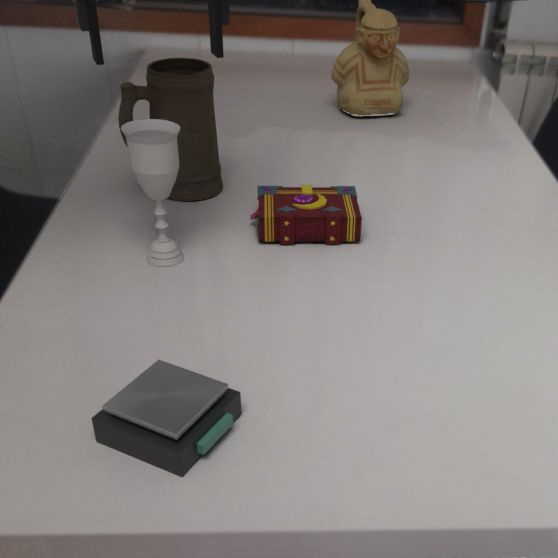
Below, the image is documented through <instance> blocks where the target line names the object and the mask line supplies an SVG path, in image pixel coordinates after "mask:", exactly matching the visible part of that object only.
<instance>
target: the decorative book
mask: <svg viewBox="0 0 558 558" xmlns="http://www.w3.org/2000/svg"><path fill="white" fill-rule="evenodd" d="M256 190H257V191H256V192H257V201H258V206H257V209H256V210H255V211H254V212H253V213H252V214H250V221H252V220H253V219H254V218H255V219H254V220H255V221H254V228H256V227H257V226H258V242H259V243H274V242H275V243H279V244H280V245H295V243H297V242H298V243H300V242H301V243H303V242H304V243H307V242H310V243H312V242H313V243H314V242H316V243H317V242H319V243H320V242H324V243H325V245H341V242H361V233H362V222H363V221H362V219H363V216H362V213H361V210H360V209H361V208H360V205H359V201H358V193H357V190H356V186H355V185H329V186H327V187H325V186H324V187H321V186H320V187H319V186H317V187H316V186H314V187H313V185H312V184H301V185H300V186H283V185H257V189H256Z"/></svg>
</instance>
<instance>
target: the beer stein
mask: <svg viewBox="0 0 558 558" xmlns="http://www.w3.org/2000/svg"><path fill="white" fill-rule="evenodd" d="M145 81H146V85H137V84H134V83H133V82H130V81H126V82H122V83H121V84H120V85H119V87H120V97H121V99H120V104H119V108H118V128H119V131H120V136H121V138H122V140H123V143H124V145H125V146H126V148H127V149H128V147H127V140H126V136H125V135H124V133H123V132H122V130H121V126H122V125H124V124H125V123H128V122H131V121H134V107H135V105H136V104H137V102H138V101H143V100H144V101H147V102H148V103H149V104H148V105H149V109H148V110H149V111H148V112H149V119H160V120H167V121H171V122H174V123H176V124H178V125H179V126H180V131H179V133H178V136H177V143H178V154H179V170H178V174H177V178H176V181H175V184H174V186H173V188H172V191H171V193H170V195H169V197H168V198H167V199H169V200H173V201H178V202H195V201H196V200H199V201H203V200H202V199H204V200H207V199H206V198H208V199H210V198H209V197H211V198H213V197H215V196H214V195H216V194H217V195H218V193H219V192H220V191H221V192H222V190H223V189H222V187H223V188H224V182H223V179H222V175H221V172H222V165H221V164H220V154H219V142H218V132H217V122H216V111H215V100H214V99H215V98H214V88H215V74H214V72H213V67H212V64H211V63H210V62H208V61H206V60H203V59H198V58H192V57H191V58H190V57H169V58H163V59H157V60H154V61H152V62H149V64H147V66H146V75H145ZM221 192H220V193H221ZM220 193H219V194H220ZM217 195H216V196H217ZM212 196H213V197H212ZM194 200H195V201H194ZM196 202H197V201H196Z"/></svg>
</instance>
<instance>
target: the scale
mask: <svg viewBox="0 0 558 558" xmlns="http://www.w3.org/2000/svg"><path fill="white" fill-rule="evenodd" d="M241 395H242V394H241V391H239V390H236V389H233V388H230V387H229V389H228V391H227V392H226V393H225V394H224V395H223V396H221V397H220V398H219V399H218V400H217V401H216V402H215V403H214V404H213V405H212V406H211V407H210V408H209V409H208V410H207V411H206V412H205V413H204V414H203V415H202V416H201V417H200V418H199V419H198V420H197V421H196V422H195V423H194V424H193V425H192V426H191V427H190V428H189V429H188V430H187V431H186V432H185V433H184V434H183V435H182V436H181V437H180V438H179V439H178V440H175V439H172V438H170V437H167V436H165V435H162V434H160V433H157V432H155V431H152V430H149V429H147V428H144V427H142V426H139V425H137V424H134V423H132V422H129V421H127V420H124V419H122V418H119V417H117V416H114V415H112V414H109V413H107V412H104V411H103V408H102V409H100V410H99V411H98V412H97V413H95V414H94V415H93V416H92V417H91V423H92V427H93V433H94V438H95V441H96V443H98V444H100V445H103V446H106V447H108V448H111V449H112V450H115V451H117V452H120V453H122V454H124V455H127V456H130V457H132V458H134V459H137V460H138V461H139V460H140V461H142V462H144V463H147V464H149V465H151V466H153V467H156V468H159V469H161V470H163V471H166V472H167V473H170V474H172V475H175V476H178V477H180V478H184V476H185V475H186V474H187V473H189V471H190V470H191V469H192V468H193V467H194V466H195V465H196V464H197V463H198V462H199V461H200V459H201V458H202V457H204V455H205V454H207V452H208V451H209V450H210V449H211V448H213V446H214V445H215V444H216V443H217V442H218V441H219V440H220V439H221V438H222V437H223V435H224V434H225V433H227V431H228V430H229V429H230V428H232V426H233V425H234V423H235V422H237V421H238V419H239V418H241V416H242V415H243V414H242V413H243V412H242V397H241Z"/></svg>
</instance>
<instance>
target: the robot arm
mask: <svg viewBox="0 0 558 558" xmlns="http://www.w3.org/2000/svg"><path fill="white" fill-rule="evenodd" d="M73 4H74V10H75V11H74V12H75V17H76V23H77V25H78V27H79V29H80V30H81V32H88V34H89V41H90V47H91V48H90V49H91V54H92V60H93V61H94V63H95V64H96V65H97V66H104V65H105V59H104V53H103V52H104V51H103V47H102V38H101V30H100V25H99V24H100V23H99V17H98V8H97V3H96V0H73ZM207 10H208V27H209V28H208V29H209V43H210V54H212V55H213V56H214V57H215V58H217V59H224V58H225V57H224V54H225V53H224V36H223V26H229V25H230V21H231V15H230V13H231V12H230V0H207Z"/></svg>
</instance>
